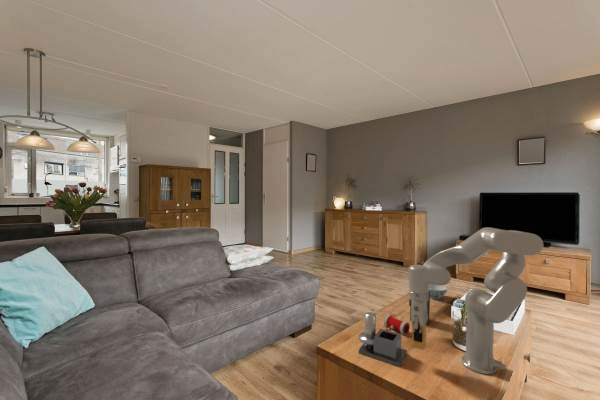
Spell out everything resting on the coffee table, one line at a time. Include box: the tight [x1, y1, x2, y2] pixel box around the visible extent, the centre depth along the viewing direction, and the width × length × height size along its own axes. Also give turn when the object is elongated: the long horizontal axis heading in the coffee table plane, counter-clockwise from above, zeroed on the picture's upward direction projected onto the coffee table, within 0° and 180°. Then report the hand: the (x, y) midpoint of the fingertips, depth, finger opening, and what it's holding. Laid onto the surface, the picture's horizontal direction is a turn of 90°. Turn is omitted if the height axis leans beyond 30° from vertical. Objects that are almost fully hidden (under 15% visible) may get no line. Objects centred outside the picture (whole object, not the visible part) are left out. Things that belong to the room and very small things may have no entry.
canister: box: [408, 290, 431, 326], centre depth 162 cm, size 11×10×20 cm
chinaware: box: [428, 284, 448, 300], centre depth 199 cm, size 15×15×8 cm
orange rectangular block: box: [411, 323, 427, 351], centre depth 120 cm, size 4×4×12 cm
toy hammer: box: [383, 314, 411, 336], centre depth 145 cm, size 23×12×6 cm, turn 127°
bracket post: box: [358, 311, 408, 368], centre depth 128 cm, size 20×12×16 cm, turn 57°
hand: (419, 338), depth 120 cm, fingers closed on orange rectangular block, 4 cm apart
